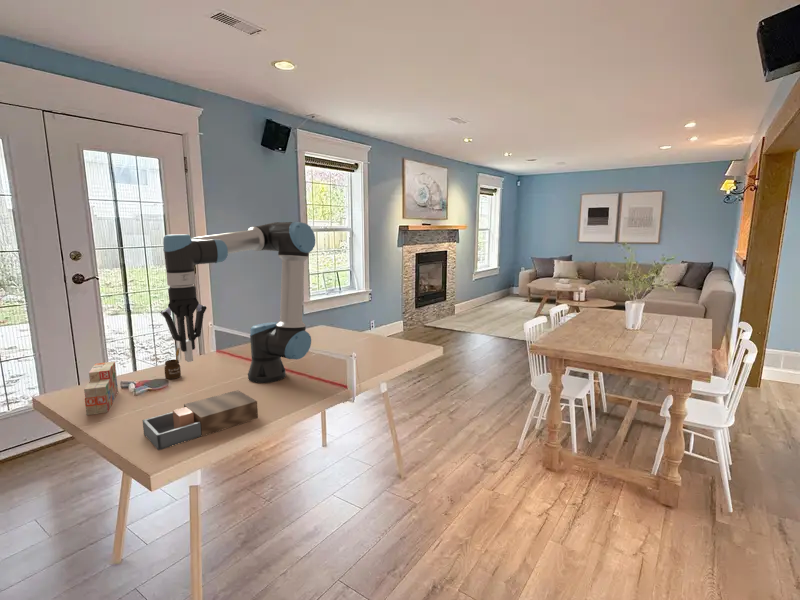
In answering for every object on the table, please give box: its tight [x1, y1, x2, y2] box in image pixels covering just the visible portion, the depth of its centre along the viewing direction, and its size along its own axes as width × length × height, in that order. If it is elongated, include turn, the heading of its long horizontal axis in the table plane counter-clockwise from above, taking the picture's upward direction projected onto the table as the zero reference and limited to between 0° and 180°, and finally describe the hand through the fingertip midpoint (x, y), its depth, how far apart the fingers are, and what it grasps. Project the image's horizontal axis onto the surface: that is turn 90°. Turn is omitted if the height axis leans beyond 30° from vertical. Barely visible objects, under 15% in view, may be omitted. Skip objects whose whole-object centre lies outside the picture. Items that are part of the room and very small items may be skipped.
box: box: [142, 411, 202, 451], centre depth 131 cm, size 12×14×4 cm
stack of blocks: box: [83, 361, 119, 416], centre depth 155 cm, size 21×6×12 cm, turn 25°
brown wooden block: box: [183, 389, 259, 437], centre depth 141 cm, size 18×14×6 cm
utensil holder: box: [163, 347, 182, 380], centre depth 182 cm, size 6×6×12 cm
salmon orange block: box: [172, 406, 194, 429], centre depth 133 cm, size 6×6×4 cm
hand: (189, 360), depth 135 cm, fingers closed
